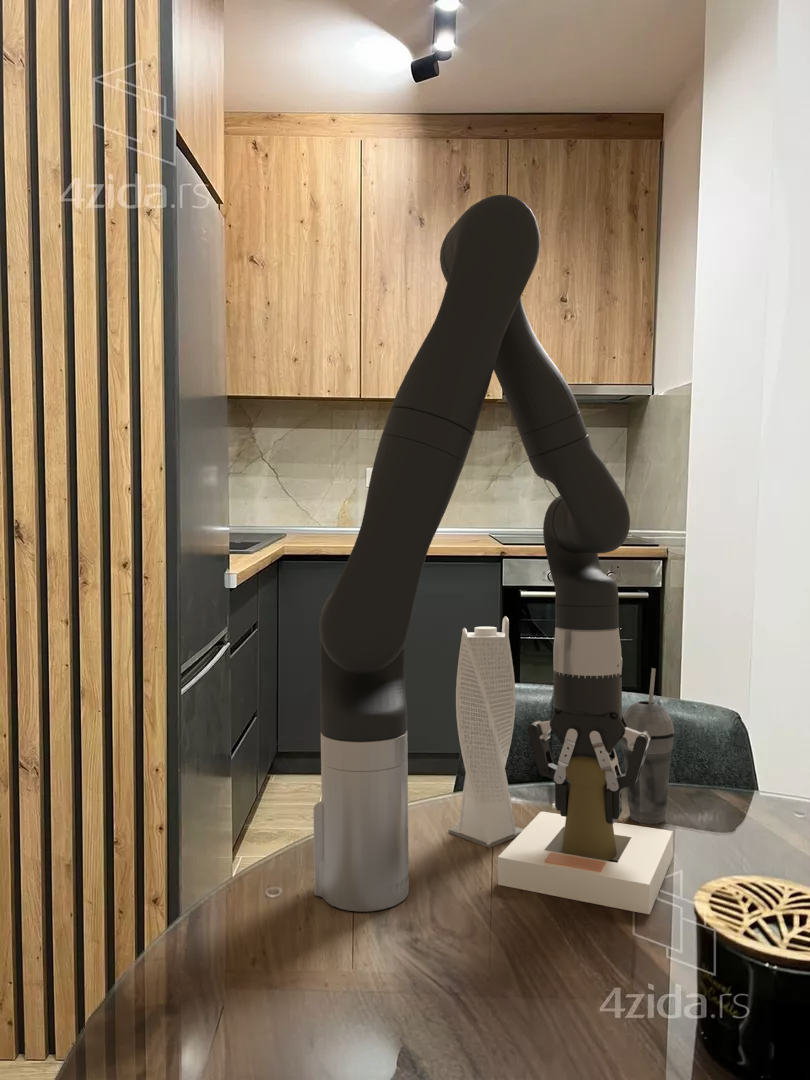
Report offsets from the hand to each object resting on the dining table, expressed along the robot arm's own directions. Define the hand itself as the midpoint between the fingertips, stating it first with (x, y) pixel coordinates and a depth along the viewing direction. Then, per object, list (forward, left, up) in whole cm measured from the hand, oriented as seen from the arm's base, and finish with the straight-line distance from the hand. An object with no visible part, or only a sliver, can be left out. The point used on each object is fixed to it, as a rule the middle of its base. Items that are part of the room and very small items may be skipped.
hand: (588, 817), depth 90 cm
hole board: (0, 0, -6) cm, 6 cm away
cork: (0, 0, -4) cm, 4 cm away
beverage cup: (+3, +20, -6) cm, 21 cm away
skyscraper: (-14, +5, -6) cm, 16 cm away
